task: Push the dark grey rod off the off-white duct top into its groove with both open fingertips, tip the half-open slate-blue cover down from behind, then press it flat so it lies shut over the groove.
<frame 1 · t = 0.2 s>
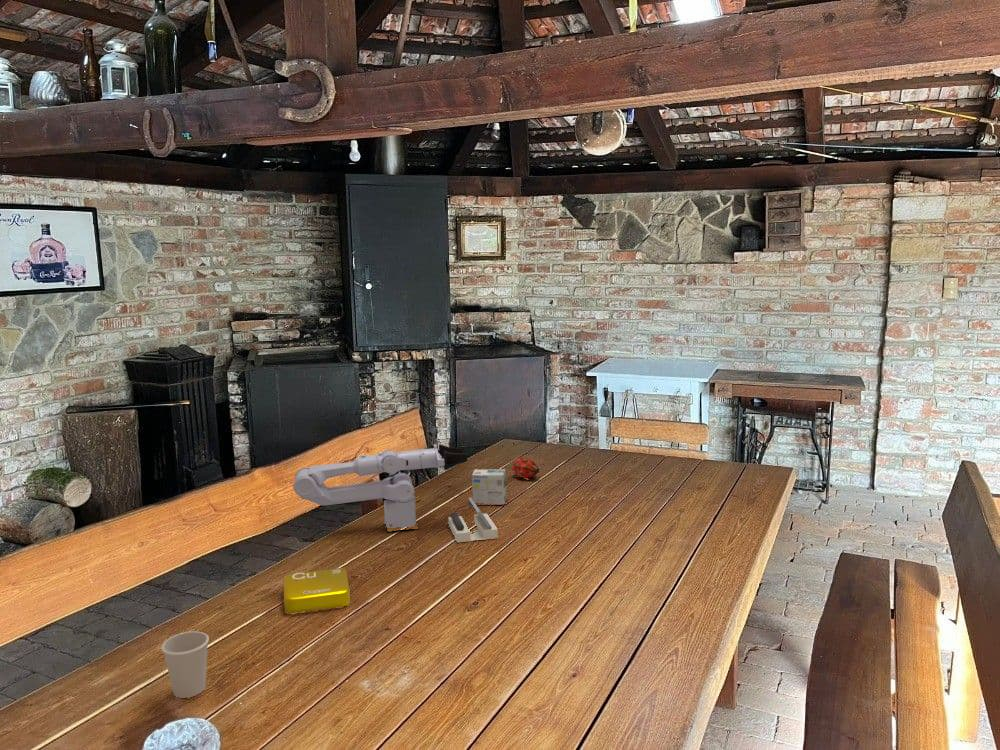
hand: (464, 454, 229), 21 cm above the table, tool horizontal, fingers open, 7 cm apart
element tile: (317, 600, 182), on the table
dark grey rod: (457, 521, 221), point 4 cm above the table, touching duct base
duct cover: (480, 512, 222), point 6 cm above the table, hinge at 58.0°
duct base: (472, 532, 223), on the table
dragon fruit: (525, 478, 276), on the table
light bulb box: (489, 503, 249), on the table
dixie cup: (189, 691, 144), on the table
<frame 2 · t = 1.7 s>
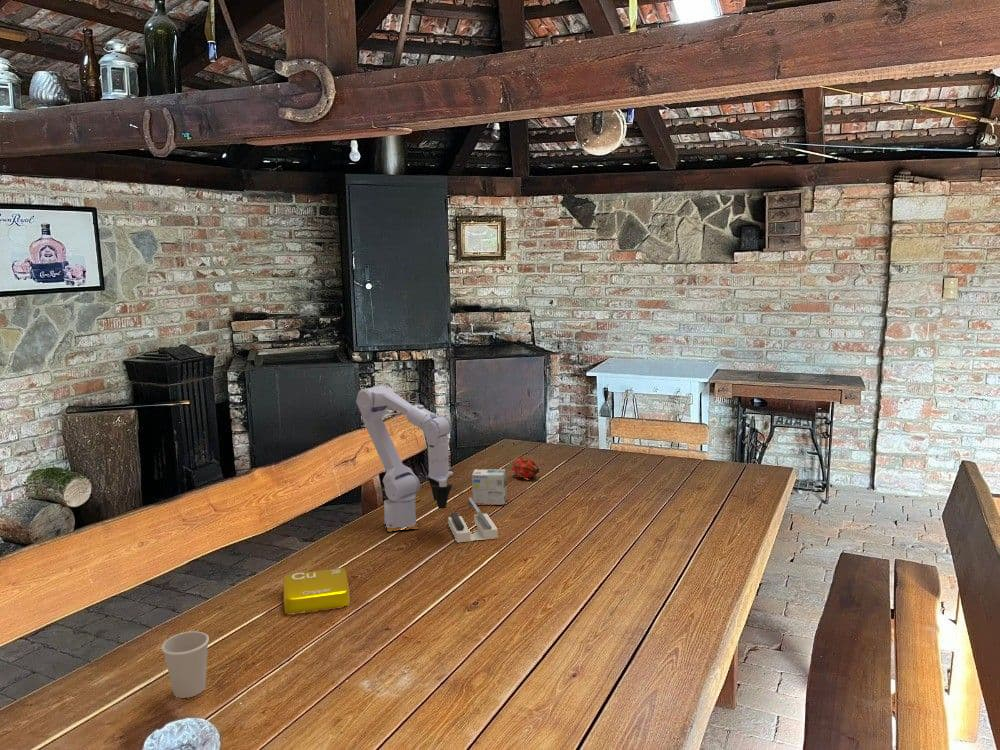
hand: (439, 503, 219), 10 cm above the table, tool pointing down, fingers open, 7 cm apart
nothing on the table moved.
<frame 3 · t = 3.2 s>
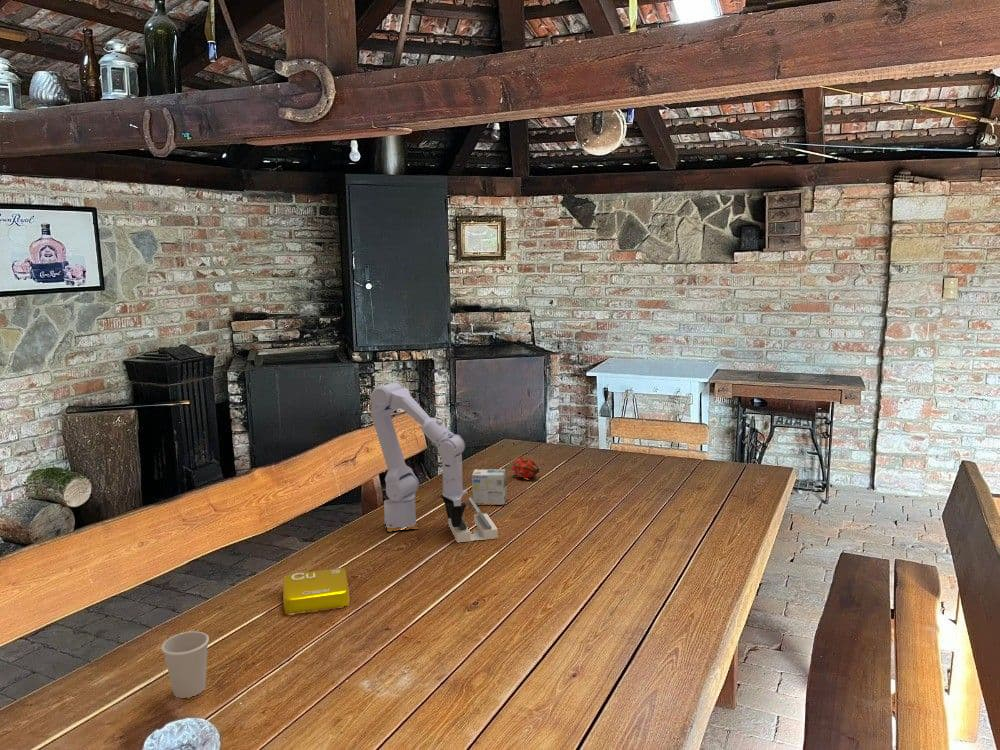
hand: (454, 522, 221), 4 cm above the table, tool pointing down
dark grey rod: (460, 521, 221), point 4 cm above the table, tilted 9°, touching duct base, gripper
everything else where it was.
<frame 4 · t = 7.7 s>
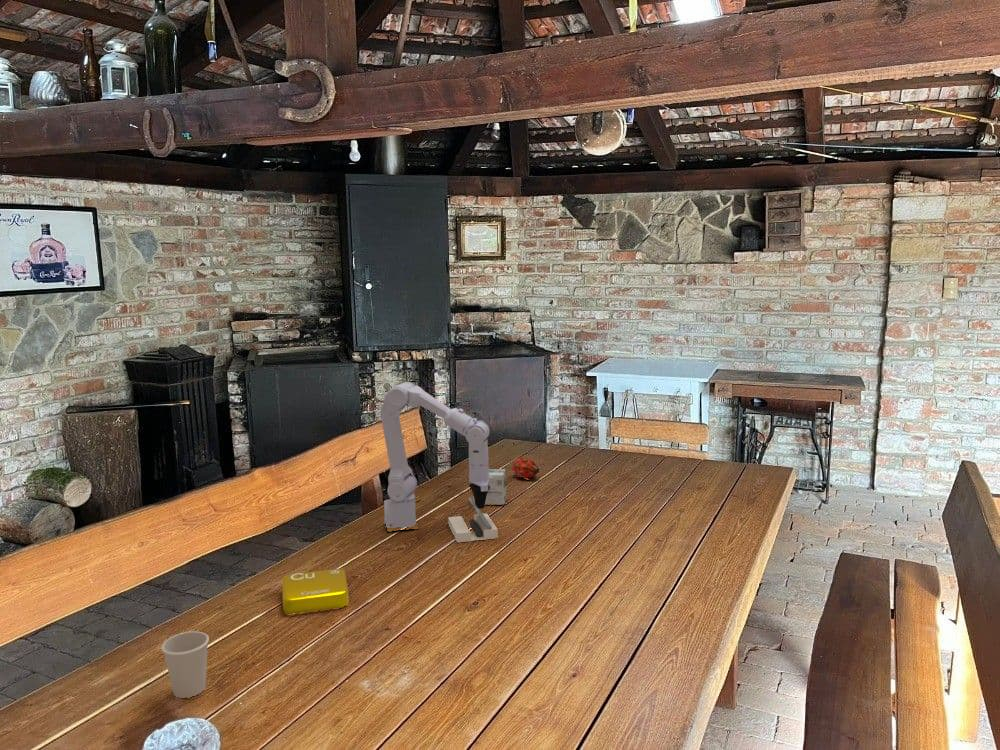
hand: (480, 507, 222), 7 cm above the table, tool pointing down, fingers closed, pressing on duct cover
dark grey rod: (475, 527, 222), point 1 cm above the table, tilted 114°, touching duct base
duct cover: (480, 513, 222), point 6 cm above the table, hinge at 57.3°, touching gripper
everything else where it was.
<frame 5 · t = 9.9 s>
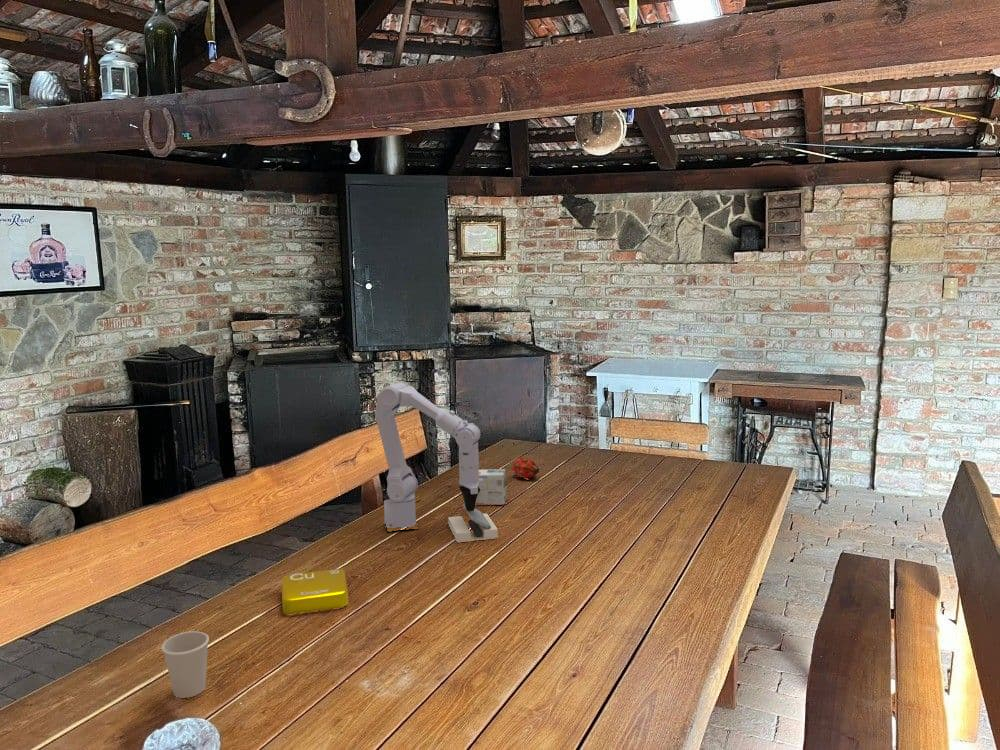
hand: (470, 510, 221), 7 cm above the table, tool pointing down, fingers closed, pressing on duct cover
dark grey rod: (474, 528, 222), point 1 cm above the table, tilted 101°, touching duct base
duct cover: (476, 515, 222), point 5 cm above the table, hinge at 32.0°, touching gripper
everything else where it was.
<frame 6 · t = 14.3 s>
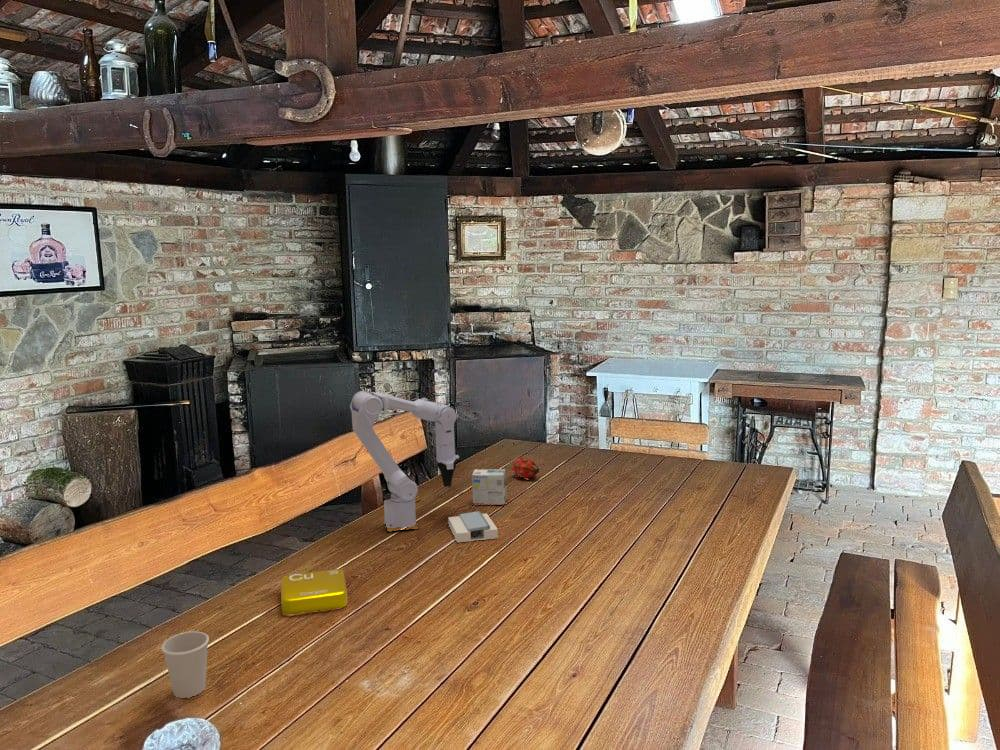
hand: (447, 485, 234), 10 cm above the table, tool pointing down, fingers closed
dark grey rod: (471, 528, 222), point 1 cm above the table, tilted 35°, touching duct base
duct cover: (474, 520, 222), point 4 cm above the table, hinge at -2.9°, touching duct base
everything else where it was.
at the end: dark grey rod inside the target area on the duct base (0.4 cm from its centre), point 1.5 cm above the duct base's base; duct cover at -3° (first picture: +58°) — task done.
